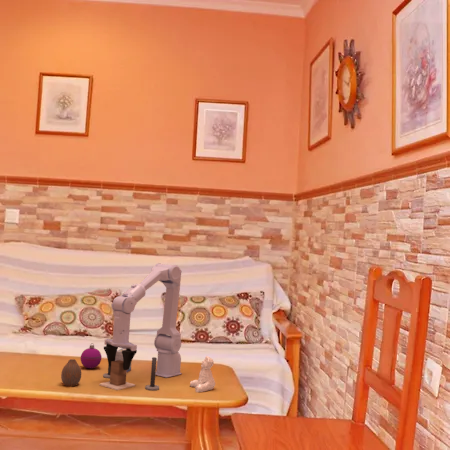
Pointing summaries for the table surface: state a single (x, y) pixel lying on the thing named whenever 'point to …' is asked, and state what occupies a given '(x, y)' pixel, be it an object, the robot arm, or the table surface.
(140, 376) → the table surface
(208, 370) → the seated beast figurine
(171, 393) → the table surface
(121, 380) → the walnut block
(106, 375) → the post
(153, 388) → the post
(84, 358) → the christmas ornament
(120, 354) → the medicine box
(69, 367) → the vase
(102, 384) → the white pad
